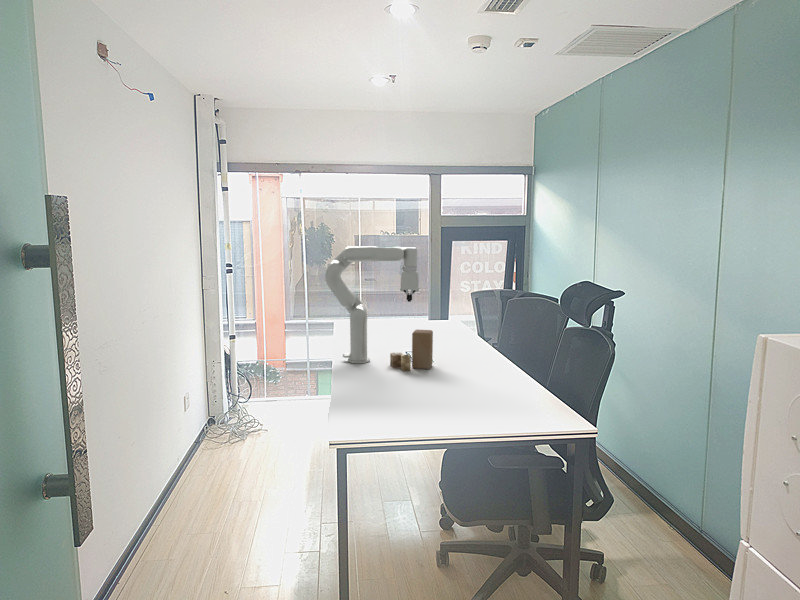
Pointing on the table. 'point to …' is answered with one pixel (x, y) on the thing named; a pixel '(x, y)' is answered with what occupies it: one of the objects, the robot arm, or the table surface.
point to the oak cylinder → (405, 362)
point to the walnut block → (395, 360)
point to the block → (422, 349)
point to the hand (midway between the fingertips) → (409, 301)
